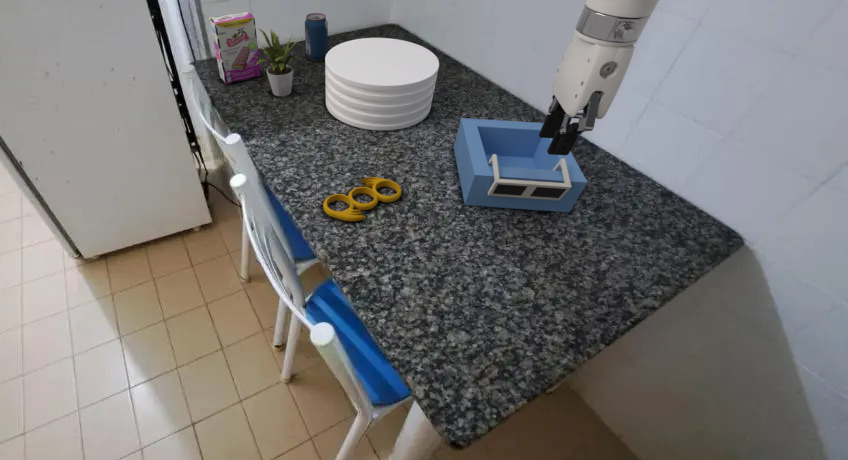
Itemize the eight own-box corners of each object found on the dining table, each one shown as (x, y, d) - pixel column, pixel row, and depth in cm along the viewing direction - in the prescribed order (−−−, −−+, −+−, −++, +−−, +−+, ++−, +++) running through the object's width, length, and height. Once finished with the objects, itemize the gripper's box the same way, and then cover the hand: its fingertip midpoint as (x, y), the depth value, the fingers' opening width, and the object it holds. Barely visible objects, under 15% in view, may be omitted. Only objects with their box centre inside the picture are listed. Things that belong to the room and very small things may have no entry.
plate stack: (452, 114, 100) (463, 70, 92) (357, 141, 92) (360, 95, 83) (393, 71, 118) (397, 31, 109) (308, 90, 109) (306, 48, 100)
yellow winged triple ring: (314, 197, 78) (335, 230, 72) (314, 191, 77) (335, 224, 70) (386, 176, 83) (412, 205, 77) (387, 170, 82) (413, 199, 75)
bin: (541, 152, 89) (555, 123, 84) (569, 212, 75) (587, 182, 70) (453, 147, 90) (461, 117, 85) (464, 205, 77) (474, 174, 71)
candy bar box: (226, 85, 110) (213, 23, 98) (220, 78, 113) (207, 17, 101) (262, 76, 114) (254, 15, 103) (255, 70, 117) (247, 10, 106)
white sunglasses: (559, 200, 73) (571, 187, 69) (488, 195, 73) (496, 182, 70) (553, 172, 76) (565, 158, 72) (485, 168, 76) (492, 153, 73)
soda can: (331, 54, 126) (331, 14, 117) (322, 63, 121) (321, 21, 113) (311, 51, 127) (310, 11, 119) (302, 59, 123) (300, 18, 114)
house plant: (241, 92, 108) (230, 29, 96) (277, 75, 115) (271, 15, 103) (277, 109, 102) (270, 44, 90) (312, 90, 109) (310, 27, 97)
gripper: (673, 51, 44) (595, 178, 57) (614, 5, 56) (560, 120, 69) (604, 48, 45) (542, 175, 58) (560, 3, 56) (517, 117, 70)
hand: (553, 144), depth 63 cm, fingers open, 4 cm apart
